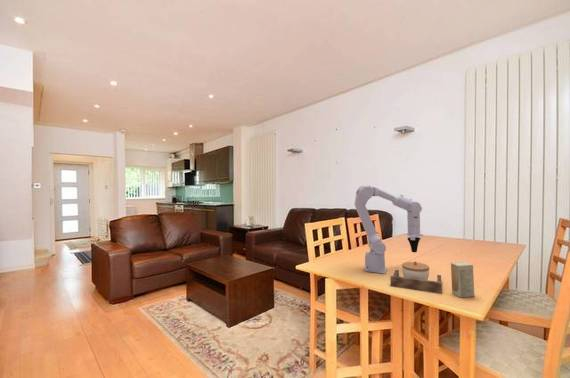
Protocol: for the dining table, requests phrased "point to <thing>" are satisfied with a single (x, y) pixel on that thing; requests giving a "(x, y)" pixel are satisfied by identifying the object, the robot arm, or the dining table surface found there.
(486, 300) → the dining table surface
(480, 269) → the dining table surface
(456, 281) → the skincare box
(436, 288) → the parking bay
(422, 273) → the lidded jar
